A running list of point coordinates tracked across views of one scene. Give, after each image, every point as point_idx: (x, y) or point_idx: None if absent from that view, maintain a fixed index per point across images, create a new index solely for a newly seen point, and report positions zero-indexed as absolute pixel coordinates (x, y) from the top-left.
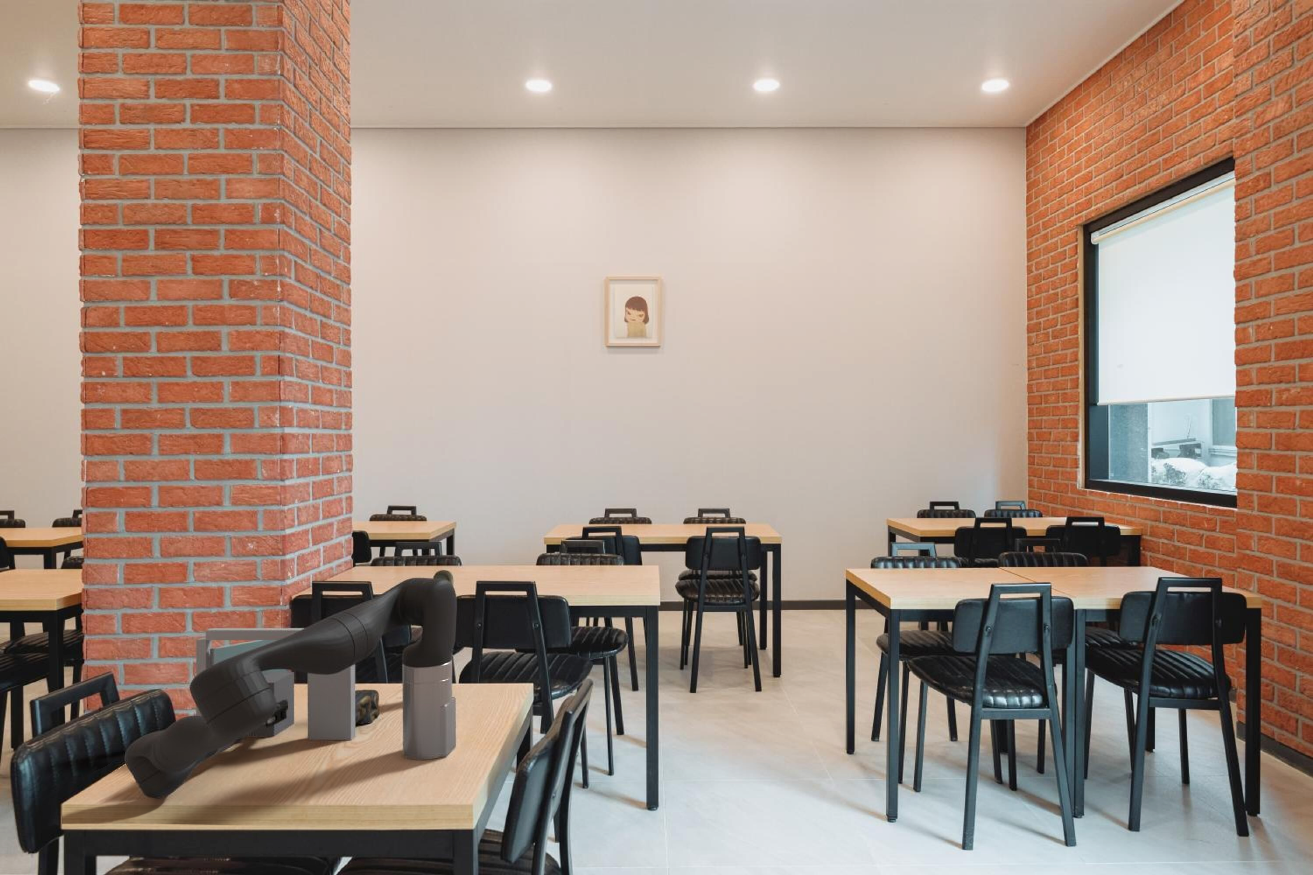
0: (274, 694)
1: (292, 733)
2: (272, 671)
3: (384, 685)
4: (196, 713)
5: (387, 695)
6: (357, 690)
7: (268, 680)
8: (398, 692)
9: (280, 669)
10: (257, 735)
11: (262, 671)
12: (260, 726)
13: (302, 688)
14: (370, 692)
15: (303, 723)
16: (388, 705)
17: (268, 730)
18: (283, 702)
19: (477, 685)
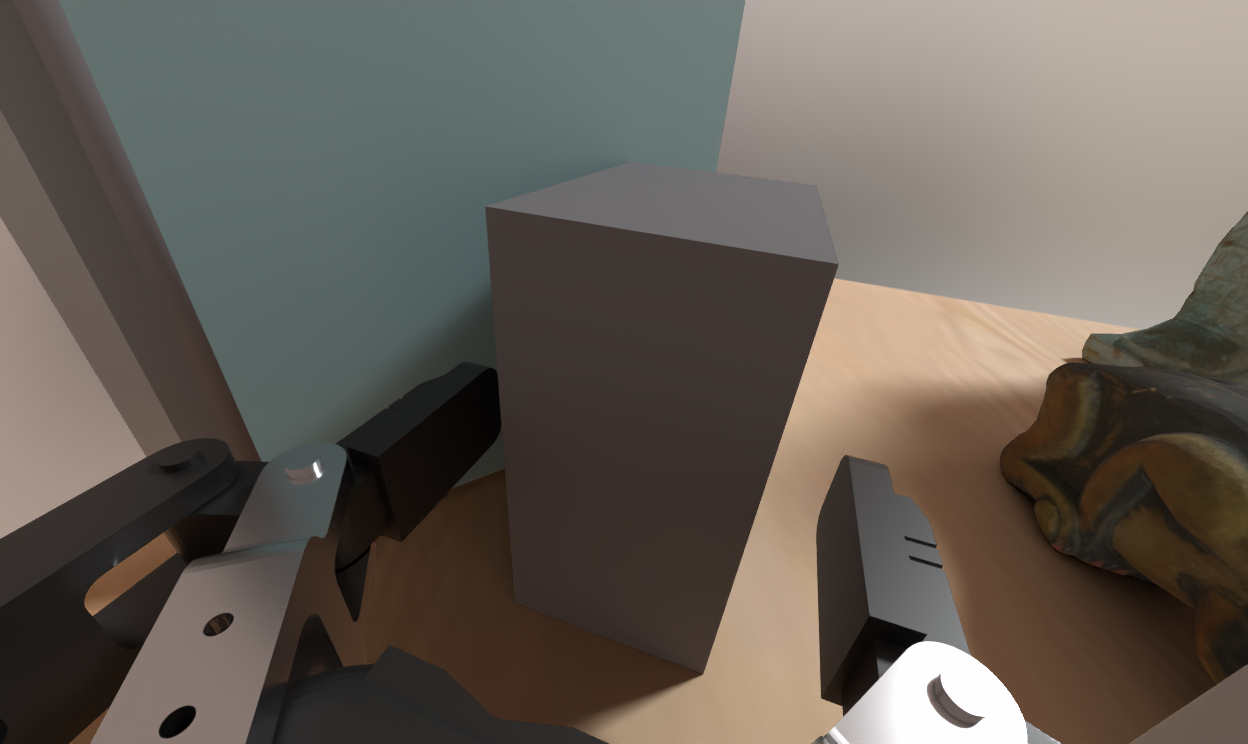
0: (788, 406)
1: (817, 649)
2: (648, 162)
3: (862, 285)
4: (118, 404)
5: (938, 332)
6: (1210, 388)
7: (706, 221)
8: (954, 324)
9: (688, 160)
10: (577, 624)
11: (591, 145)
12: (603, 592)
13: None
14: None
15: (788, 487)
16: (1039, 400)
17: (663, 633)
18: (891, 520)
19: None
